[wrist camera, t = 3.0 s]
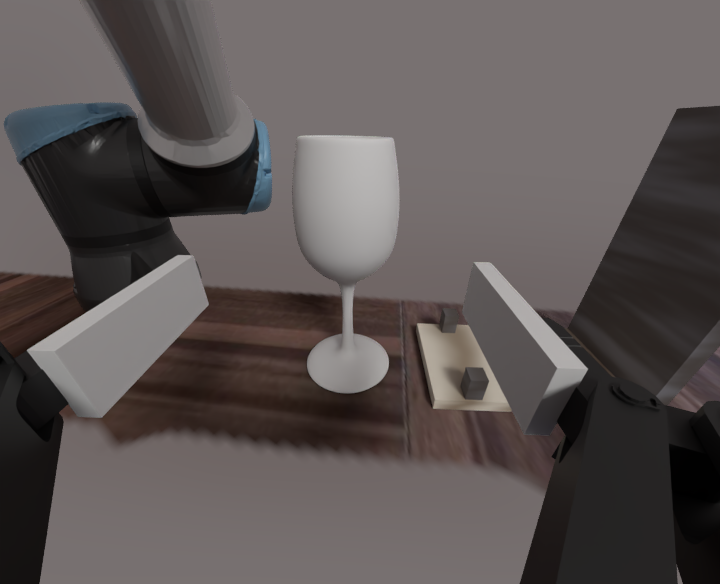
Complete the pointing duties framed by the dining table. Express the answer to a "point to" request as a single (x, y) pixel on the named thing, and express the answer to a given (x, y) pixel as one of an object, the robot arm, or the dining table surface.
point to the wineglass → (346, 240)
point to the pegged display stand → (627, 284)
